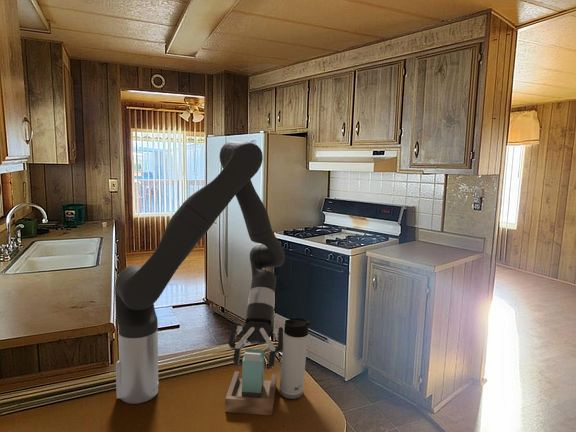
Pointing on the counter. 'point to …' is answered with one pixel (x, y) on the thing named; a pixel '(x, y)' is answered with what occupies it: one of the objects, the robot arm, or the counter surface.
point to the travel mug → (293, 357)
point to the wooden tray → (250, 398)
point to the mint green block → (252, 373)
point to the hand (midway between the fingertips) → (253, 366)
